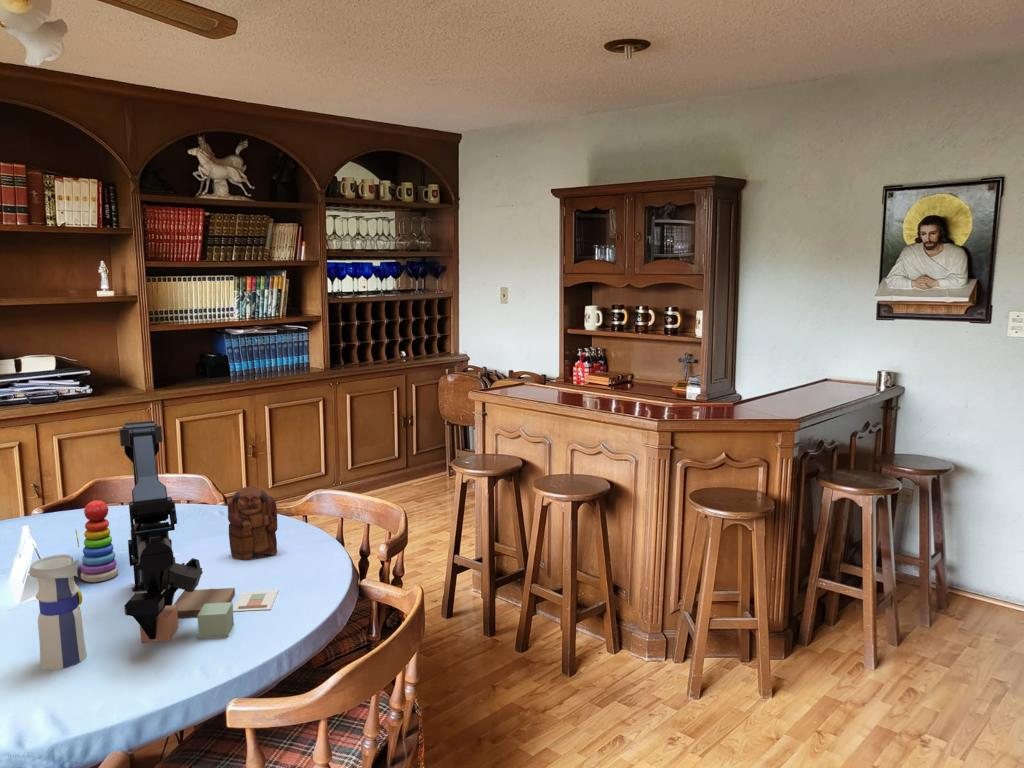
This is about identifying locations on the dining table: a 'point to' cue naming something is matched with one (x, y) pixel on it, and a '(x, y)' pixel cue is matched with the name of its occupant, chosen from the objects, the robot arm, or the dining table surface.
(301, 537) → the dining table surface
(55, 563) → the beige and blue vase
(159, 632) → the terracotta block
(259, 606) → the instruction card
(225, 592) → the walnut plate
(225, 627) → the sage block
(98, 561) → the stacking toy
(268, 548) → the wooden figurine
